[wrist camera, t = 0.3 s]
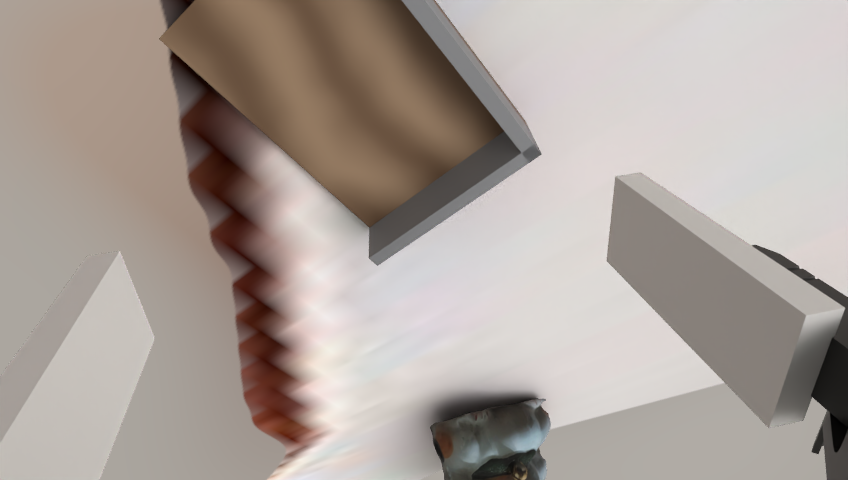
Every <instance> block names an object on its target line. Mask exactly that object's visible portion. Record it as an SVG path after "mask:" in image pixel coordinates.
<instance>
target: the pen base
mask: <svg viewBox="0 0 848 480" xmlns="http://www.w3.org/2000/svg"><path fill="white" fill-rule="evenodd" d="M433 1H434V2H435V4H436V5H437V7H438V8H439V9H440V11H441V12H442V13H443V15H444V16H445V17H446V19H447V20H448V21H449V23H450V24H451V25H452V27H453V28H454V29H455V31H456V32H457V33H458V35H459V36H460V37H461V39H462V40H463V41H464V43H465V44H466V45H467V47H468V48H469V49H470V51H471V52H472V53H473V55H474V56H475V57H476V59H477V60H478V61H479V63H480V64H481V65H482V67H483V68H484V69H485V71H486V72H487V73H488V75H489V76H490V77H491V79H492V80H493V81H494V83H495V84H496V85H497V87H498V88H499V89H500V91H501V92H502V93H503V95H504V96H505V97H506V99H507V100H508V101H509V103H510V104H511V105H512V107H513V108H514V109H515V111H516V112H517V113H518V115H519V116H520V117H521V119H522V120H523V121H524V123H525V124H526V122H525V120H524V119H523V117H522V116H521V115H520V113H519V112H518V111H517V109H516V108H515V107H514V105H513V104H512V103H511V101H510V100H509V99H508V97H507V96H506V95H505V93H504V92H503V91H502V89H501V88H500V87H499V85H498V84H497V83H496V81H495V80H494V79H493V77H492V76H491V75H490V73H489V72H488V71H487V69H486V68H485V67H484V65H483V64H482V63H481V61H480V60H479V59H478V57H477V56H476V55H475V53H474V52H473V51H472V49H471V48H470V47H469V45H468V44H467V42H466V41H465V40H464V38H463V37H462V36H461V34H460V33H459V32H458V30H457V29H456V28H455V26H454V25H453V24H452V22H451V21H450V20H449V18H448V17H447V16H446V14H445V13H444V12H443V10H442V9H441V8H440V6H439V5H438V4H437V2H436V1H435V0H433ZM159 39H160V40H161V41H162V42H163V43H164V44H165V45H166V46H167V47H169V48H170V49H171V50H172V51H173V52H174V53H175V54H176V55H177V56H179V57H180V58H181V59H182V60H183V61H184V62H185V63H186V64H188V65H189V66H190V67H191V68H192V69H193V70H194V71H195V72H196V73H198V74H199V75H200V76H201V77H202V78H203V79H204V80H205V81H206V82H208V83H209V84H210V85H211V86H212V87H213V88H214V89H215V90H217V91H218V92H219V93H220V94H221V95H222V96H223V97H224V98H225V99H227V100H228V101H229V102H230V103H231V104H232V105H233V106H234V107H236V108H237V109H238V110H239V111H240V112H241V113H242V114H243V115H244V116H246V117H247V118H248V119H249V120H250V121H251V122H252V123H253V124H254V125H256V126H257V127H258V128H259V129H260V130H261V131H262V132H263V133H265V134H266V135H267V136H268V137H269V138H270V139H271V140H272V141H273V142H275V143H276V144H277V145H278V146H279V147H280V148H281V149H282V150H283V151H285V152H286V153H287V154H288V155H289V156H290V157H291V158H292V159H294V160H295V161H296V162H297V163H298V164H299V165H300V166H301V167H302V168H304V169H305V170H306V171H307V172H308V173H309V174H310V175H311V176H313V177H314V178H315V179H316V180H317V181H318V182H319V183H320V184H321V185H323V186H324V187H325V188H326V189H327V190H328V191H329V192H330V193H331V194H333V195H334V196H335V197H336V198H337V199H338V200H339V201H340V202H342V203H343V204H344V205H345V206H346V207H347V208H348V209H349V210H350V211H352V212H353V213H354V214H355V215H356V216H357V217H358V218H359V219H361V220H362V221H363V222H364V223H365V224H366V225H367V226H368V227H369V228H370V227H371V226H372V225H374V224H375V223H377V222H378V221H379V220H381V219H382V218H384V217H385V216H386V215H388V214H389V213H391V212H392V211H393V210H395V209H396V208H398V207H399V206H400V205H402V204H403V203H405V202H406V201H407V200H409V199H410V198H412V197H413V196H414V195H416V194H417V193H419V192H420V191H421V190H423V189H424V188H426V187H427V186H428V185H430V184H431V183H433V182H434V181H435V180H437V179H438V178H439V177H441V176H442V175H444V174H445V173H446V172H448V171H449V170H451V169H452V168H453V167H455V166H456V165H458V164H459V163H460V162H462V161H463V160H465V159H466V158H467V157H469V156H470V155H472V154H473V153H474V152H476V151H477V150H479V149H480V148H481V147H483V146H484V145H486V144H487V143H488V142H490V141H491V140H493V139H494V138H495V137H497V136H498V135H500V134H501V133H502V132H504V130H503V129H502V127H501V126H500V125H499V124H498V122H497V121H496V120H495V118H494V117H493V116H492V115H491V113H490V112H489V111H488V110H487V108H486V107H485V106H484V104H483V103H482V102H481V101H480V99H479V98H478V97H477V96H476V94H475V93H474V92H473V90H472V89H471V88H470V87H469V85H468V84H467V83H466V82H465V80H464V79H463V78H462V76H461V75H460V74H459V73H458V71H457V70H456V69H455V68H454V66H453V65H452V64H451V62H450V61H449V60H448V59H447V57H446V56H445V55H444V54H443V52H442V51H441V50H440V48H439V47H438V46H437V45H436V43H435V42H434V41H433V40H432V38H431V37H430V36H429V34H428V33H427V32H426V31H425V29H424V28H423V27H422V26H421V24H420V23H419V22H418V20H417V19H416V18H415V17H414V15H413V14H412V13H411V12H410V10H409V9H408V8H407V6H406V5H405V4H404V3H403V1H402V0H195V1H194V2H193V3H192V4H191V5H190V6H189V7H188V8H187V9H186V10H185V12H184V13H183V14H182V15H181V16H180V17H179V18H178V19H177V20H176V21H175V22H174V23H173V24H172V25H171V26H170V28H169V29H168V30H167V31H166V32H165V33H164V34H163V35H162V36H161V37H160V38H159ZM526 125H527V124H526ZM527 127H528V126H527Z"/></svg>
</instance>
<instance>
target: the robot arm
mask: <svg viewBox="0 0 848 480" xmlns="http://www.w3.org/2000/svg"><path fill="white" fill-rule="evenodd" d="M607 262H608V263H609V264H610V265H611V266H612V267H613V268H614V269H615V270H616V271H617V272H618V273H619V274H620V275H621V276H622V277H623V278H624V279H625V280H626V281H627V282H628V283H629V284H630V285H631V287H632V288H633V289H634V290H635V291H636V292H637V293H638V294H639V295H640V296H641V297H642V298H643V299H644V300H645V301H646V302H647V303H648V304H649V305H650V306H651V307H652V308H653V309H654V310H655V311H656V312H657V313H658V314H659V315H660V316H661V317H662V318H663V319H664V321H665V322H666V323H667V324H668V325H669V326H670V327H671V328H672V329H673V330H674V331H675V332H676V333H677V334H678V335H679V336H680V337H681V338H682V339H683V340H684V341H685V342H686V343H687V344H688V345H689V346H690V347H691V348H692V349H693V350H694V351H695V352H696V354H697V355H698V356H699V357H700V358H701V359H702V360H703V361H704V362H705V363H706V364H707V365H708V366H709V367H710V368H711V369H712V370H713V371H714V372H715V373H716V374H717V375H718V376H719V377H720V378H721V379H722V380H723V381H724V382H725V383H726V384H727V385H728V387H730V388H731V390H732V391H733V392H734V393H735V394H736V395H737V396H738V397H739V398H740V399H741V400H742V401H743V402H744V403H745V404H746V405H747V406H748V407H749V408H750V409H751V410H752V411H753V412H754V413H755V414H756V415H757V416H758V417H759V418H760V420H762V422H763V423H764V424H765V425H766V426H767V427H768V428H772V427H776V426H781V425H785V424H790V423H794V422H799V421H803V420H804V418H805V415H806V412H807V409H808V407H809V404H810V401H811V399H812V397H813V398H814V399H815V400H817V402H819V403H820V404H821V405H822V406H823V407H824V408H825V409H827V412H826V415H825V417H824V420H823V422H822V425H821V427H820V430H819V433H818V435H817V437H816V440H815V443H814V445H813V449H812V452H813V453H817V454H819V451H820V449H821V446H824V449H825V462H826V473H827V480H848V297H846V296H845V295H843V294H842V293H840V292H839V291H837V290H835V289H834V288H832V287H831V286H829V285H828V284H826V283H824V282H823V281H821V280H820V279H815V276H814V275H812V274H810V273H809V272H807V271H806V270H804V269H799V266H798V265H796V264H795V263H793V262H792V261H790V260H788V259H787V258H785V257H784V256H782V255H781V254H778V253H776V252H773V251H771V250H768V249H765V248H763V247H760V246H757V245H752V246H751V245H750V244H748V243H747V242H745V241H744V240H742V239H741V238H739V237H738V236H736V235H734V234H733V233H731V232H730V231H728V230H727V229H725V228H724V227H722V226H721V225H719V224H718V223H716V222H715V221H713V220H712V219H710V218H709V217H707V216H706V215H704V214H703V213H701V212H700V211H698V210H697V209H695V208H694V207H692V206H691V205H689V204H688V203H686V202H685V201H683V200H682V199H680V198H679V197H677V196H676V195H674V194H673V193H671V192H669V191H668V190H666V189H665V188H663V187H662V186H660V185H659V184H657V183H656V182H654V181H653V180H651V179H650V178H648V177H647V176H645V175H644V174H642V173H635V174H628V175H622V176H615V185H614V195H613V205H612V214H611V224H610V233H609V243H608V253H607ZM154 340H155V337H154V335H153V333H152V330H151V328H150V325H149V322H148V320H147V317H146V315H145V312H144V310H143V307H142V305H141V303H140V300H139V297H138V295H137V292H136V290H135V287H134V286H133V282H132V280H131V277H130V275H129V272H128V271H127V267H126V265H125V262H124V260H123V258H122V255H121V253H120V251H116V252H109V253H102V254H95V255H89V256H86V258H85V259H84V261H83V262H82V264H81V265H80V266H79V268H78V269H77V270H76V272H75V273H74V274H73V276H72V277H71V279H70V280H69V282H68V283H67V284H66V286H65V287H64V289H63V290H62V291H61V293H60V294H59V295H58V297H57V298H56V299H55V301H54V302H53V304H52V305H51V306H50V308H49V309H48V311H47V312H46V313H45V315H44V316H43V317H42V319H41V320H40V322H39V323H38V324H37V326H36V327H35V329H34V330H33V331H32V333H31V334H30V336H29V337H28V338H27V340H26V341H25V343H24V344H23V345H22V347H21V348H20V349H19V351H18V352H17V354H16V355H15V356H14V358H13V359H12V361H11V362H10V363H9V365H8V366H7V367H6V369H5V370H4V372H3V373H2V374H1V376H0V480H100V478H101V475H102V472H103V470H104V467H105V465H106V462H107V460H108V457H109V455H110V452H111V449H112V447H113V444H114V442H115V439H116V437H117V434H118V431H119V429H120V426H121V424H122V421H123V419H124V416H125V414H126V411H127V409H128V406H129V403H130V401H131V398H132V396H133V393H134V391H135V388H136V386H137V383H138V380H139V378H140V375H141V373H142V370H143V368H144V365H145V363H146V360H147V357H148V355H149V352H150V350H151V347H152V344H153V342H154Z"/></svg>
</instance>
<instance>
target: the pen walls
mask: <svg viewBox="0 0 848 480" xmlns="http://www.w3.org/2000/svg"><path fill="white" fill-rule="evenodd" d="M402 1H403V3H404V4H405V5H406V6H407V8H408V9H409V10H410V12H411V13H412V14H413V15H414V17H415V18H416V19H417V20H418V22H419V23H420V24H421V26H422V27H423V28H424V29H425V31H426V32H427V33H428V34H429V36H430V37H431V38H432V40H433V41H434V42H435V43H436V45H437V46H438V47H439V48H440V50H441V51H442V52H443V54H444V55H445V56H446V57H447V59H448V60H449V61H450V62H451V64H452V65H453V66H454V68H455V69H456V70H457V71H458V73H459V74H460V75H461V76H462V78H463V79H464V80H465V82H466V83H467V84H468V85H469V87H470V88H471V89H472V90H473V92H474V93H475V94H476V96H477V97H478V98H479V99H480V101H481V102H482V103H483V104H484V106H485V107H486V108H487V110H488V111H489V112H490V113H491V115H492V116H493V117H494V118H495V120H496V121H497V122H498V124H499V125H500V126H501V127H502V129H503V130H504V132H502V133H501V134H500V135H498V136H497V137H495V138H494V139H493V140H491V141H490V142H488V143H487V144H486V145H484V146H483V147H481V148H480V149H479V150H477V151H476V152H474V153H473V154H472V155H470V156H469V157H467V158H466V159H465V160H463V161H462V162H460V163H459V164H458V165H456V166H455V167H453V168H452V169H451V170H449V171H448V172H446V173H445V174H444V175H442V176H441V177H439V178H438V179H437V180H435V181H434V182H433V183H431V184H430V185H428V186H427V187H426V188H424V189H423V190H421V191H420V192H419V193H417V194H416V195H414V196H413V197H412V198H410V199H409V200H407V201H406V202H405V203H403V204H402V205H400V206H399V207H398V208H396V209H395V210H393V211H392V212H391V213H389V214H388V215H386V216H385V217H384V218H382V219H381V220H379V221H378V222H377V223H375V224H374V225H372V226H371V227H370V228H369V259H370V260H371V261H373V262H374V263H375V264H376V265H377V266H378V265H379V264H381V263H382V262H384V261H385V260H387V259H388V258H390V257H391V256H393V255H394V254H395V253H397V252H398V251H400V250H401V249H403V248H404V247H406V246H407V245H409V244H410V243H412V242H413V241H415V240H416V239H418V238H419V237H421V236H422V235H423V234H425V233H426V232H428V231H429V230H431V229H432V228H434V227H435V226H437V225H438V224H440V223H441V222H443V221H444V220H446V219H447V218H448V217H450V216H451V215H453V214H454V213H456V212H457V211H459V210H460V209H462V208H463V207H465V206H466V205H468V204H469V203H471V202H472V201H474V200H475V199H476V198H478V197H479V196H481V195H482V194H484V193H485V192H487V191H488V190H490V189H491V188H493V187H494V186H496V185H497V184H499V183H500V182H502V181H503V180H504V179H506V178H507V177H509V176H510V175H512V174H513V173H515V172H516V171H518V170H519V169H521V168H522V167H524V166H525V165H527V164H528V163H530V162H531V161H532V160H534V159H535V158H537V157H538V156H540V155H541V152H540V150H539V148H538V146H537V144H536V142H535V140H534V138H533V136H532V134H531V132H530V130H529V128H528V127H527V125H526V124H525V123H524V121H523V120H522V119H521V117H520V116H519V115H518V113H517V112H516V111H515V109H514V108H513V107H512V105H511V104H510V103H509V101H508V100H507V99H506V97H505V96H504V95H503V93H502V92H501V91H500V89H499V88H498V87H497V85H496V84H495V83H494V81H493V80H492V79H491V77H490V76H489V75H488V73H487V72H486V71H485V69H484V68H483V67H482V65H481V64H480V63H479V61H478V60H477V59H476V57H475V56H474V55H473V53H472V52H471V51H470V49H469V48H468V47H467V45H466V44H465V43H464V41H463V40H462V39H461V37H460V36H459V35H458V33H457V32H456V31H455V29H454V28H453V27H452V25H451V24H450V23H449V21H448V20H447V19H446V17H445V16H444V15H443V13H442V12H441V11H440V9H439V8H438V7H437V5H436V4H435V2H434V1H433V0H402Z"/></svg>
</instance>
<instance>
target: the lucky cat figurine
mask: <svg viewBox="0 0 848 480" xmlns="http://www.w3.org/2000/svg"><path fill="white" fill-rule="evenodd" d="M543 401H546V399H533V400H529V401H526V402H522V403H518V404H511V405H505V406H497V407H489V408H488V409H485V410H482V411H477V412H472V413H468V414H465V415H461V416H458V417H456V418H453V419H451V420H448V421H443V422H438V423H435V424H433V425H432V426H431V427H430V429H431V431H432V435H433V443H434V446H435V449H436V452H437V454H438V456H439V458H440V460H441V462H442V467H443V472H444V480H545V477H546V474H547V469H546V461H545V459H543V458H542V456H541V455H540V450H539V447H540V446H541V444H542V443H543V442H544V441H545V438H546V437H547V435H548V432H549V430H550V426H551V424H550V418H549V415H548V413H547V412H546V411H544V410H543V409H542V407H541V404H542V402H543Z"/></svg>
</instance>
